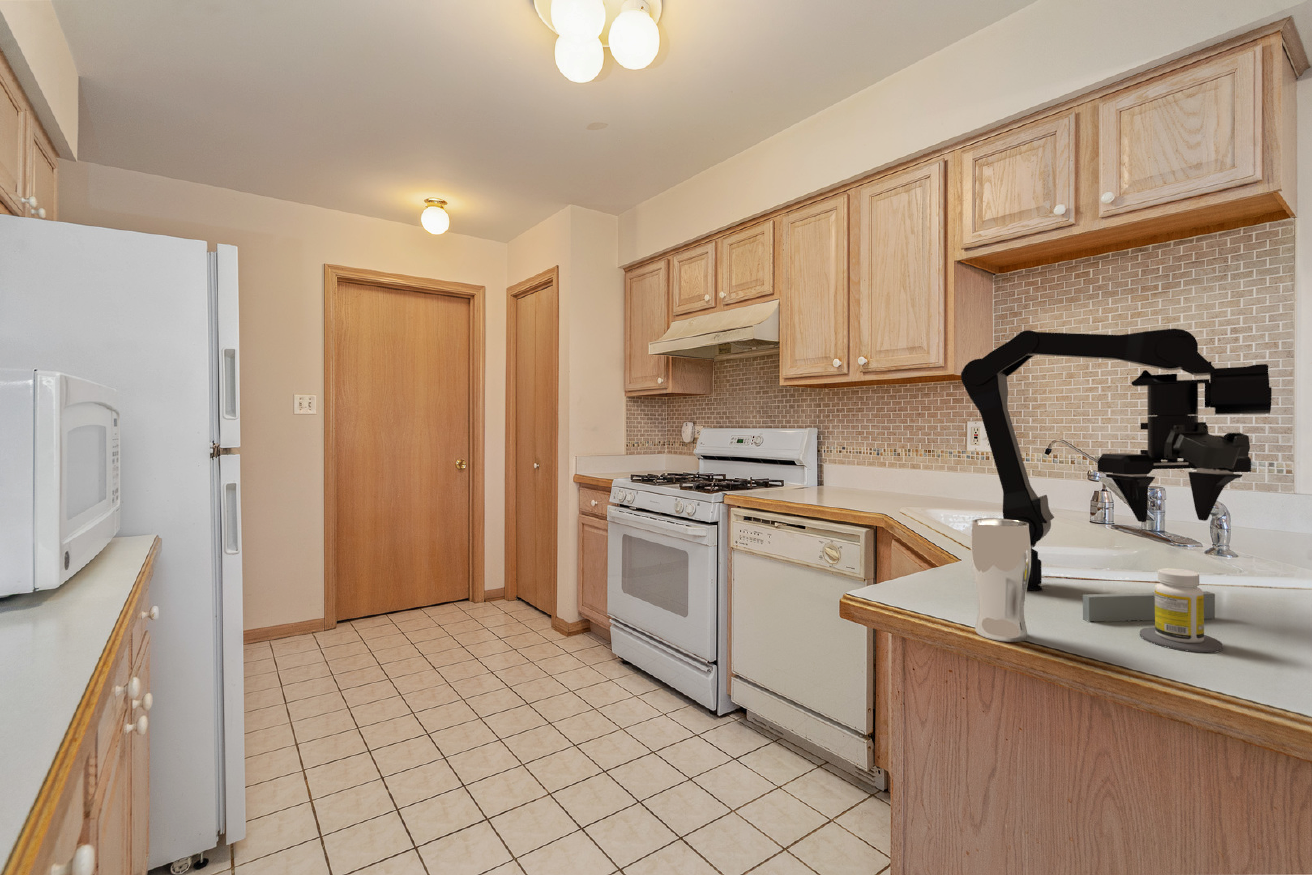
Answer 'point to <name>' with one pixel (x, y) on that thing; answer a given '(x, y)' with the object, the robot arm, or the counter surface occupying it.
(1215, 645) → the coaster
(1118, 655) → the counter surface
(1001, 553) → the beer glass
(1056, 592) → the counter surface
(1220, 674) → the counter surface
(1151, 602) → the gray rectangular bar
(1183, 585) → the supplement bottle
